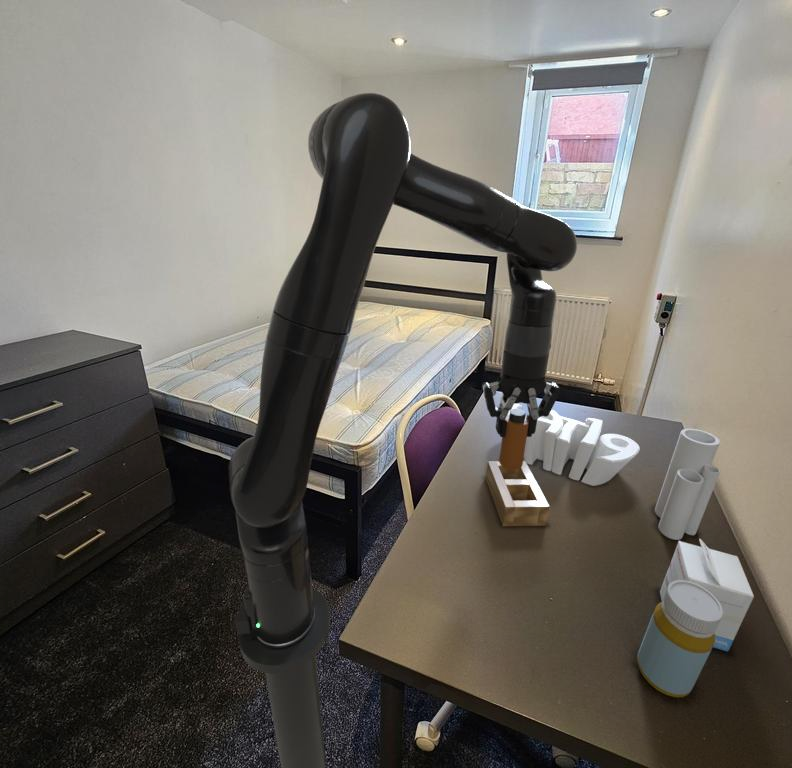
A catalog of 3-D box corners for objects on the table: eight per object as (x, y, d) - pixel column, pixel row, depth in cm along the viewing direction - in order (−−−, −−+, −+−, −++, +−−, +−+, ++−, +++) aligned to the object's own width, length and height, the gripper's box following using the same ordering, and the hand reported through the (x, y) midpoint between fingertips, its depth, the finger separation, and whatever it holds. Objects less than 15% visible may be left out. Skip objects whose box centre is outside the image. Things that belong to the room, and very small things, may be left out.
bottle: (626, 649, 62) (653, 577, 56) (671, 648, 62) (702, 576, 56) (652, 700, 55) (685, 625, 50) (702, 699, 56) (741, 624, 50)
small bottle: (502, 469, 77) (509, 418, 72) (496, 456, 81) (503, 406, 76) (525, 469, 77) (533, 418, 72) (518, 456, 81) (526, 406, 77)
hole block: (502, 526, 85) (505, 507, 83) (485, 478, 100) (487, 460, 98) (546, 525, 86) (550, 506, 84) (522, 477, 101) (525, 460, 99)
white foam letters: (485, 448, 112) (489, 414, 108) (509, 425, 125) (514, 393, 121) (622, 500, 94) (633, 461, 90) (635, 467, 107) (645, 432, 103)
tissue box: (729, 654, 62) (762, 590, 57) (666, 633, 65) (692, 570, 59) (714, 607, 69) (742, 546, 64) (658, 590, 72) (680, 530, 67)
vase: (652, 502, 94) (677, 425, 86) (688, 510, 92) (717, 432, 84) (660, 536, 84) (689, 453, 76) (700, 546, 82) (735, 462, 74)
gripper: (559, 341, 73) (545, 424, 80) (480, 340, 73) (472, 425, 79) (576, 355, 66) (559, 445, 73) (489, 354, 66) (480, 446, 73)
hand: (514, 434), depth 76 cm, fingers closed on small bottle, 4 cm apart
